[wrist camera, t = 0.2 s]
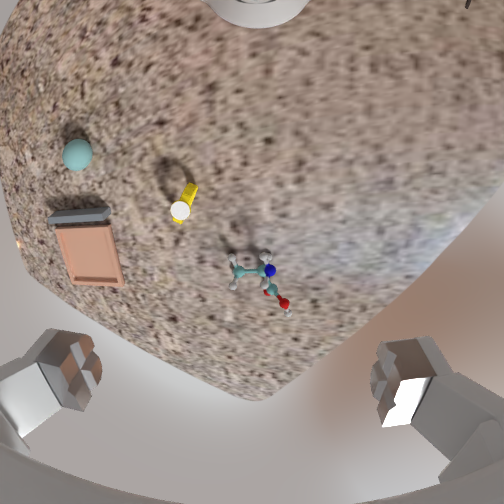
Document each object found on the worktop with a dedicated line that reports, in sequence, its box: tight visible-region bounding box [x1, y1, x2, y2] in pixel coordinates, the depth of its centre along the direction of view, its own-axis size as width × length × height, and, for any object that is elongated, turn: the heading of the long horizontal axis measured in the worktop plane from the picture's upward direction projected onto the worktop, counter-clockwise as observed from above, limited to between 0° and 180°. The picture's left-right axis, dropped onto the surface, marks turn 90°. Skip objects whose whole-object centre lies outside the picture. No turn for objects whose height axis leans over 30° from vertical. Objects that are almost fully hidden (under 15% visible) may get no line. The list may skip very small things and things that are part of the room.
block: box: [48, 207, 111, 224], centre depth 47 cm, size 1×12×3 cm, turn 91°
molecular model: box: [228, 252, 292, 317], centre depth 49 cm, size 12×10×10 cm
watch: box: [170, 182, 198, 224], centre depth 44 cm, size 6×3×6 cm, turn 155°
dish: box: [55, 224, 125, 287], centre depth 52 cm, size 12×12×1 cm
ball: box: [62, 139, 92, 171], centre depth 41 cm, size 5×5×5 cm
